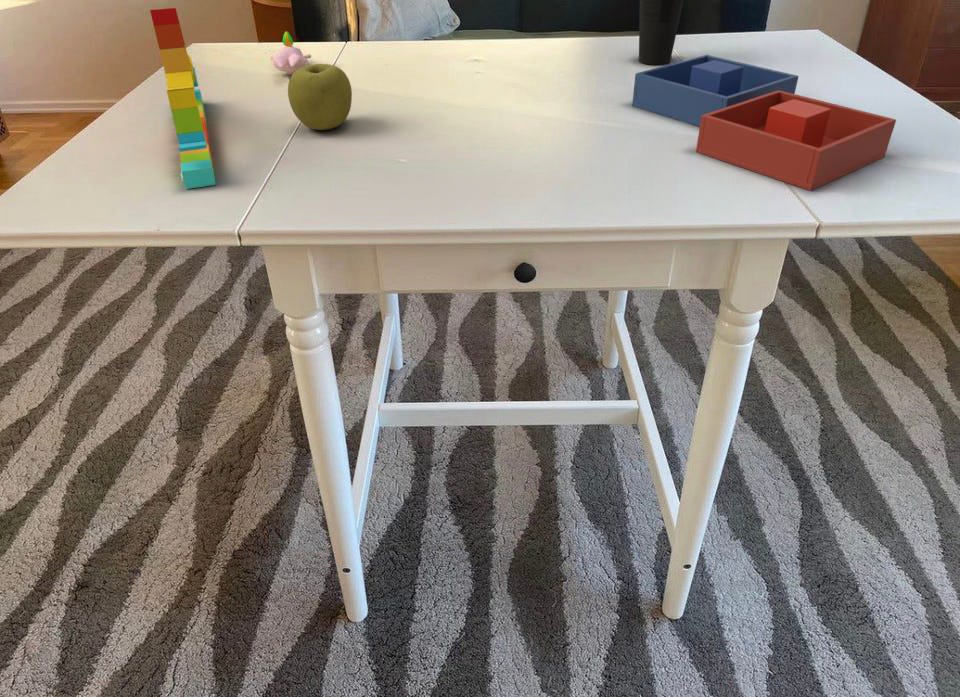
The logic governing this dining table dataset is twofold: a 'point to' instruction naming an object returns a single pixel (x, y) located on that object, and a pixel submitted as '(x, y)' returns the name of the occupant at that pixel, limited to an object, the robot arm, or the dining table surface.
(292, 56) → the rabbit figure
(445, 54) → the dining table surface
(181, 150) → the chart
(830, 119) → the red bin
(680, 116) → the blue bin
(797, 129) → the red block
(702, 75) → the blue block
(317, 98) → the apple
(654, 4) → the drinking cup
